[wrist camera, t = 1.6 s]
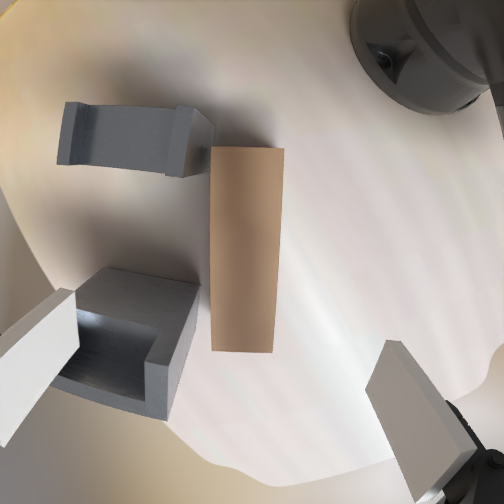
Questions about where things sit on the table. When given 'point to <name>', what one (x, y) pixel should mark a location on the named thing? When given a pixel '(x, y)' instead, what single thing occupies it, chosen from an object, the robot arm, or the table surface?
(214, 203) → the walnut rail
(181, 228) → the table surface
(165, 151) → the cup bracket stand
